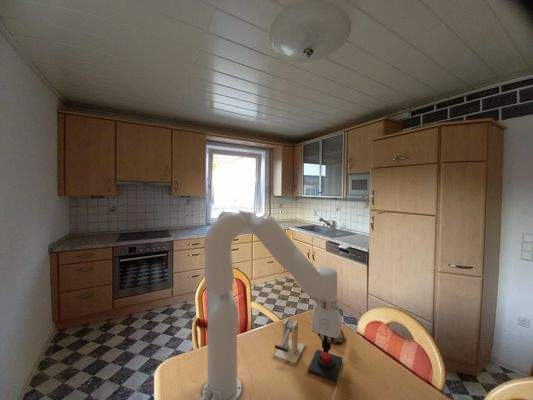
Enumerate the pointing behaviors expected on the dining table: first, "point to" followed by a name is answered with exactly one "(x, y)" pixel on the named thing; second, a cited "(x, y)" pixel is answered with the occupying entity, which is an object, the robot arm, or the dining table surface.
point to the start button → (325, 357)
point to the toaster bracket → (291, 344)
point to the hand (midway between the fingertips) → (326, 350)
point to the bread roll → (337, 341)
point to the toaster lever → (285, 337)
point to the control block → (326, 367)
